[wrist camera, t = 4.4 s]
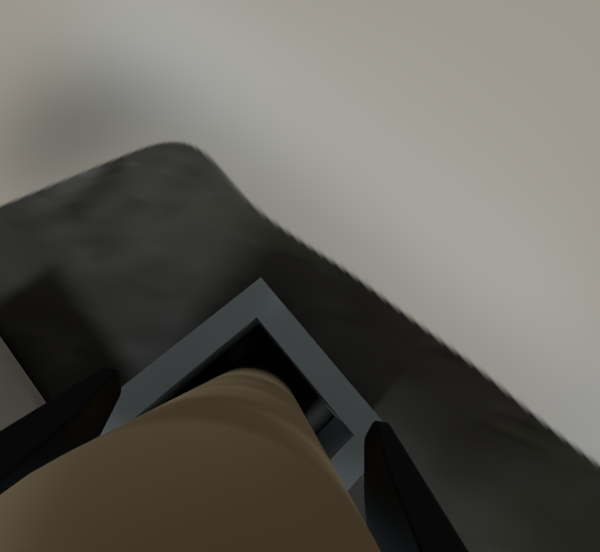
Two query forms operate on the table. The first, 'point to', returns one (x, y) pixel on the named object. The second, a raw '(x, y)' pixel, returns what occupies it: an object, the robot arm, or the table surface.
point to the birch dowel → (193, 481)
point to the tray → (15, 389)
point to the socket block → (293, 344)
